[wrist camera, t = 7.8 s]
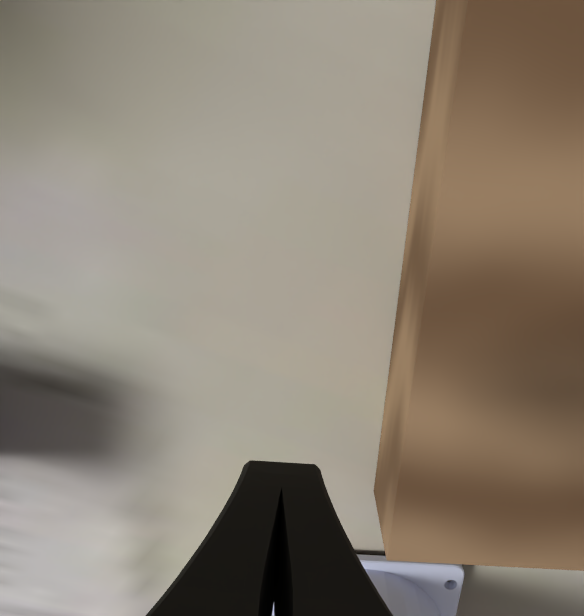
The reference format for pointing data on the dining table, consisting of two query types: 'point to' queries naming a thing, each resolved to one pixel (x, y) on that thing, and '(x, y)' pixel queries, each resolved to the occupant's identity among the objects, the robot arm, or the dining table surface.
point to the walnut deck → (492, 299)
